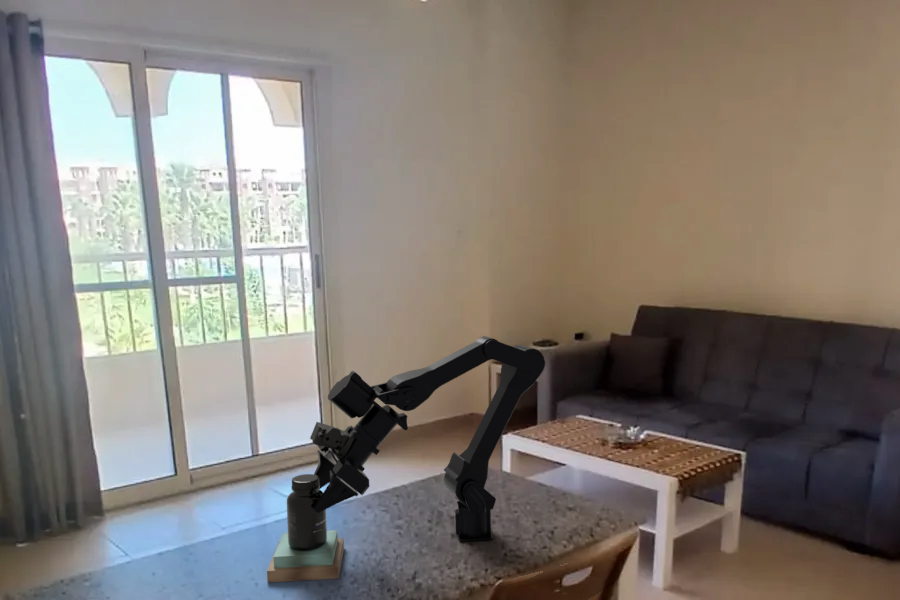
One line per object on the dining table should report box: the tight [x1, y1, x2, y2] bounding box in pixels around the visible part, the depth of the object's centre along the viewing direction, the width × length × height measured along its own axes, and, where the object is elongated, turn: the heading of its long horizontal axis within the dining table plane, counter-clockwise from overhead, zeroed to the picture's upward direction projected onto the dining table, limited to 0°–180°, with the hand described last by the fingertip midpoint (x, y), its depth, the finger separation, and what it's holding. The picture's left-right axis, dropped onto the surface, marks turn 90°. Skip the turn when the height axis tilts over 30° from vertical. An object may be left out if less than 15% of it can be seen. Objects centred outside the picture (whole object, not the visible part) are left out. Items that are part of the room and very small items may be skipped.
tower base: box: [266, 529, 345, 583], centre depth 128 cm, size 12×12×4 cm
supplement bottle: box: [286, 473, 328, 551], centre depth 127 cm, size 7×7×12 cm
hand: (311, 502), depth 127 cm, fingers open, 9 cm apart
